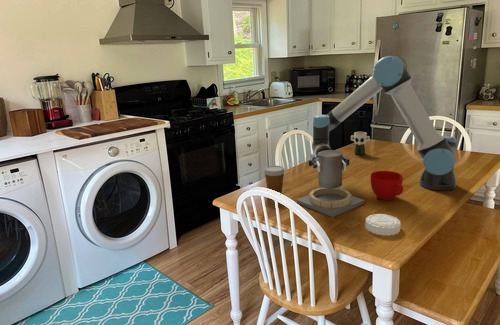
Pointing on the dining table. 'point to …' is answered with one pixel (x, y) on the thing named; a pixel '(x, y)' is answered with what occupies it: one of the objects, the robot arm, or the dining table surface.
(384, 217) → the mooncake
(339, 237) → the dining table surface
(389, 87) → the robot arm
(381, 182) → the ceramic cup
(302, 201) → the board
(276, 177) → the disposable coffee cup
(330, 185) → the pillar candle
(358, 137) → the character mug
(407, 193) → the dining table surface
